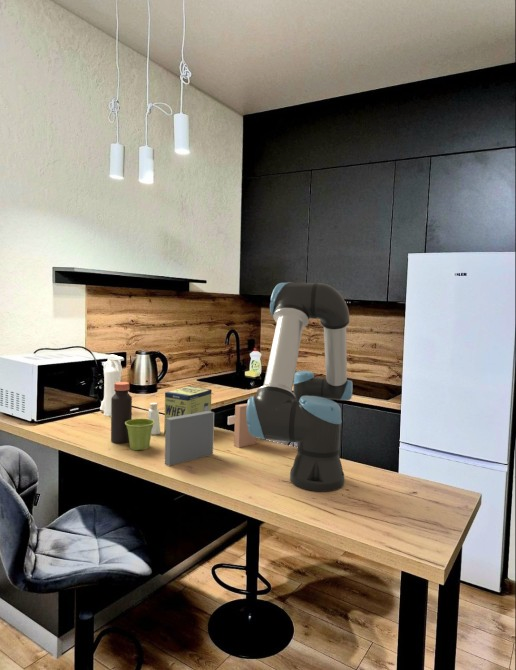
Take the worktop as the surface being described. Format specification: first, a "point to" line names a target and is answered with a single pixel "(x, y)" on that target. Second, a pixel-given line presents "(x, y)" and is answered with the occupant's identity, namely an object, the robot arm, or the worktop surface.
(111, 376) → the white spray bottle
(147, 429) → the plant pot
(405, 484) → the worktop surface
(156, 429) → the pepper shaker
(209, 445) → the board
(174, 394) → the protein box
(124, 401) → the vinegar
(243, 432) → the stub
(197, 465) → the worktop surface
